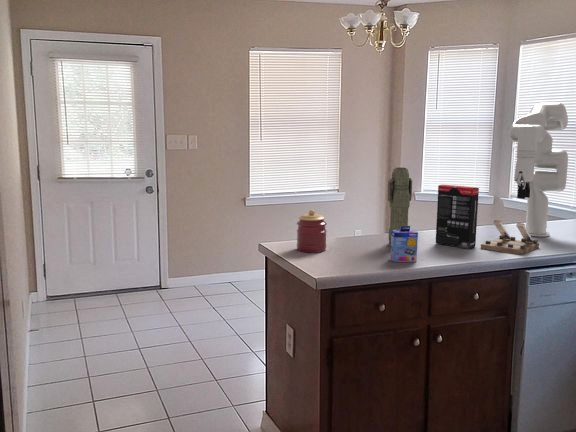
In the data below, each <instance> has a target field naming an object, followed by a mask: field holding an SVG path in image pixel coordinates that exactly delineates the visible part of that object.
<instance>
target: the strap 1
mask: <svg viewBox="0 0 576 432" xmlns="http://www.w3.org/2000/svg"><path fill="white" fill-rule="evenodd" d="M493 224H494V227H496V229H497V231H498V232H499V233H500V235H502V237H503V238H504V239H508V240H511V237H512V236H510V235H509V233H508V231H507V229H506V228H505V227H504V225H503V223H502V220H496V219H495V220H493Z"/></svg>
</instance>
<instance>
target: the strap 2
mask: <svg viewBox="0 0 576 432" xmlns="http://www.w3.org/2000/svg"><path fill="white" fill-rule="evenodd" d="M515 226H516V228H517V229H518V231H519V232H520V235H521V236H522V238H524V239H525V241H526V242H530V243H533V240H534V239H533V238H532V236H530V235H529V233H528V231H527V229H526V224H525V223H522V222H516V225H515Z"/></svg>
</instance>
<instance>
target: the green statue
mask: <svg viewBox="0 0 576 432" xmlns="http://www.w3.org/2000/svg"><path fill="white" fill-rule="evenodd" d="M412 196H413V179H412V177H410V172H409V169H408V168H406V167H395V168H393V171H392V173H391V178H390V179H388V182H387V201H388V202H389V208H390V214H389V215H390V217H389V228H388V245H389V246H390V245H391V230H401V226H409V209H410V204H411V203H410V202H411V201H412ZM402 229H408V228H407V227H404V228H402Z"/></svg>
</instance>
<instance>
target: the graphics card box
mask: <svg viewBox="0 0 576 432" xmlns="http://www.w3.org/2000/svg"><path fill="white" fill-rule="evenodd" d="M437 189H438V190H437V205H436V206H437V208H436V209H437V211H436V224H435V225H436V228H435V243H436V244H439V245H445V246H450V247H456V248H460V249H461V248H462V249H467V250H470V249H473V248H474V247H475V248H476V241H477V225H478V207H479V192H480V187H475V186H465V185H455V184H454V185H453V184H438V186H437Z"/></svg>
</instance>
